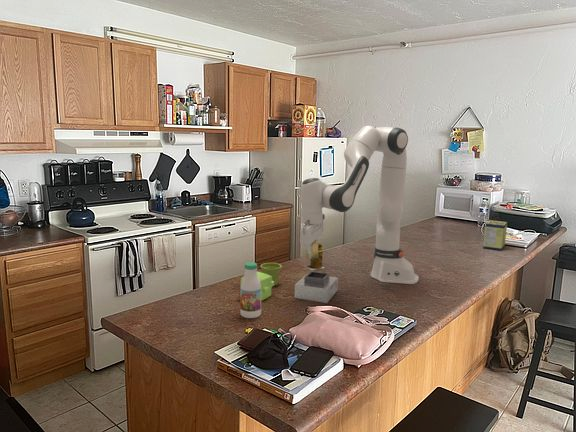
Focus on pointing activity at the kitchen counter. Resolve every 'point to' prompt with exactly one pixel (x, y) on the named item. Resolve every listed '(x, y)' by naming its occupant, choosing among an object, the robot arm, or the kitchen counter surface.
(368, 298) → the kitchen counter surface
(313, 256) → the tan cylinder
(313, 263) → the condiment
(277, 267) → the plant pot
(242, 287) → the milk bottle
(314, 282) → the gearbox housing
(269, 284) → the green teapot
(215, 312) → the kitchen counter surface
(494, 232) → the protein box
